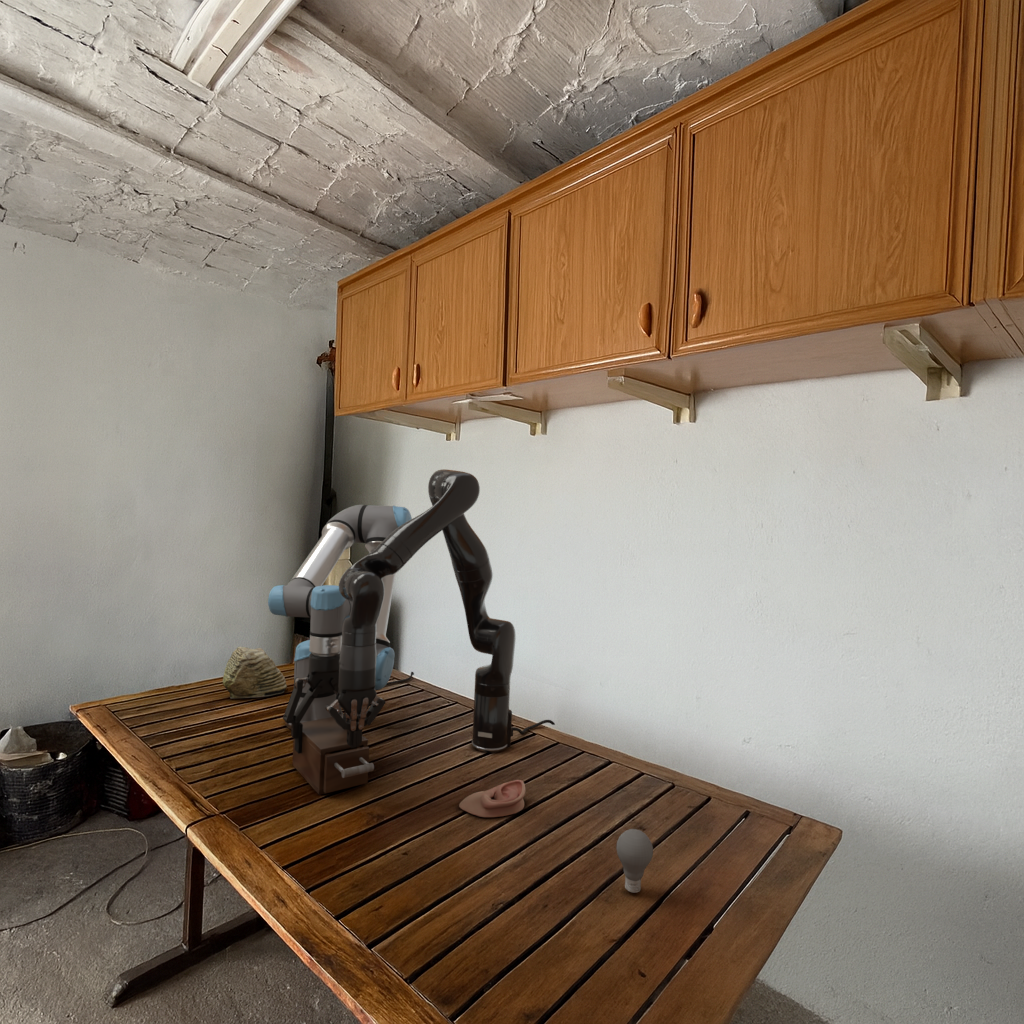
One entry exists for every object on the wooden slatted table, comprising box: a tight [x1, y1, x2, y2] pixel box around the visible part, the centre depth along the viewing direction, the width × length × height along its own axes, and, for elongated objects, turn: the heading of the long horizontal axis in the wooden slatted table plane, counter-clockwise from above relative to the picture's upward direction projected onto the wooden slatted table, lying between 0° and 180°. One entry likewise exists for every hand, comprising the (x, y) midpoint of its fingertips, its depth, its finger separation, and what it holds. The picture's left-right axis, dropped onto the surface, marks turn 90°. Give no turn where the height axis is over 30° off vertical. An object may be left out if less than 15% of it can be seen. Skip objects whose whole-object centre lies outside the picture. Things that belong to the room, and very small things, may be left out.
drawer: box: [324, 746, 375, 794], centre depth 140 cm, size 22×10×8 cm, turn 37°
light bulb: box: [615, 828, 654, 894], centre depth 106 cm, size 6×6×10 cm
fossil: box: [222, 646, 288, 699], centre depth 198 cm, size 9×18×15 cm, turn 132°
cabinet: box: [292, 717, 369, 796], centre depth 145 cm, size 18×11×10 cm, turn 37°
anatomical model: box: [458, 779, 527, 818], centre depth 133 cm, size 13×4×12 cm
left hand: (322, 746), depth 148 cm, fingers closed on cabinet, 11 cm apart
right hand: (354, 746), depth 133 cm, fingers closed
